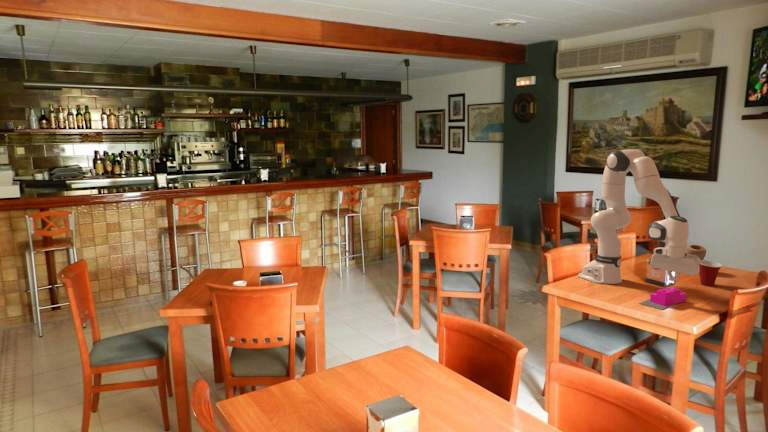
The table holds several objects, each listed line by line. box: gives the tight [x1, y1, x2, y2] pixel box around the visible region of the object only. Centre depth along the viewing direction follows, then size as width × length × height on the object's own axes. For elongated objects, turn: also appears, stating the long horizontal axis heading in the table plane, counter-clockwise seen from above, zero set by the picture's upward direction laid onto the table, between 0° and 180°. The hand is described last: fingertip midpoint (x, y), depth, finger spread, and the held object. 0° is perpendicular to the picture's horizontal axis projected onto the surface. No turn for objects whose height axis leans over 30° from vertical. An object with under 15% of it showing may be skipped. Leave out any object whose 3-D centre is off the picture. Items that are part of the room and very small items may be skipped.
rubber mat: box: [638, 298, 675, 311], centre depth 238 cm, size 10×24×1 cm, turn 127°
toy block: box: [649, 287, 687, 306], centre depth 237 cm, size 15×6×8 cm
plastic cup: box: [699, 259, 723, 287], centre depth 261 cm, size 11×11×12 cm
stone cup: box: [687, 244, 707, 260], centre depth 287 cm, size 15×12×15 cm
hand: (673, 280), depth 233 cm, fingers closed
